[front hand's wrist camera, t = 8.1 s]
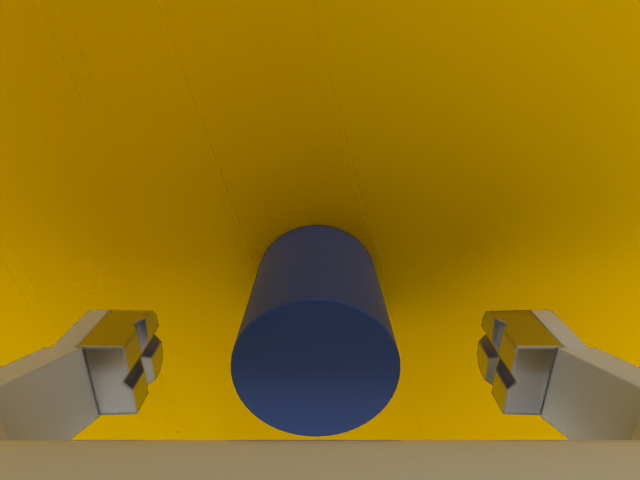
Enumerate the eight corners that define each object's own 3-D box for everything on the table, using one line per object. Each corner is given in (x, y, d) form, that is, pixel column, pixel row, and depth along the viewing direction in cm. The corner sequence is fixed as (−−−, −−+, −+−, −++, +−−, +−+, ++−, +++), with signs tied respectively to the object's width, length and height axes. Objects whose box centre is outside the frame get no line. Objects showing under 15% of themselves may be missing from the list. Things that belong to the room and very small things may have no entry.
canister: (298, 347, 14) (290, 459, 10) (234, 262, 13) (195, 349, 9) (396, 297, 13) (429, 396, 9) (337, 202, 12) (347, 267, 8)
